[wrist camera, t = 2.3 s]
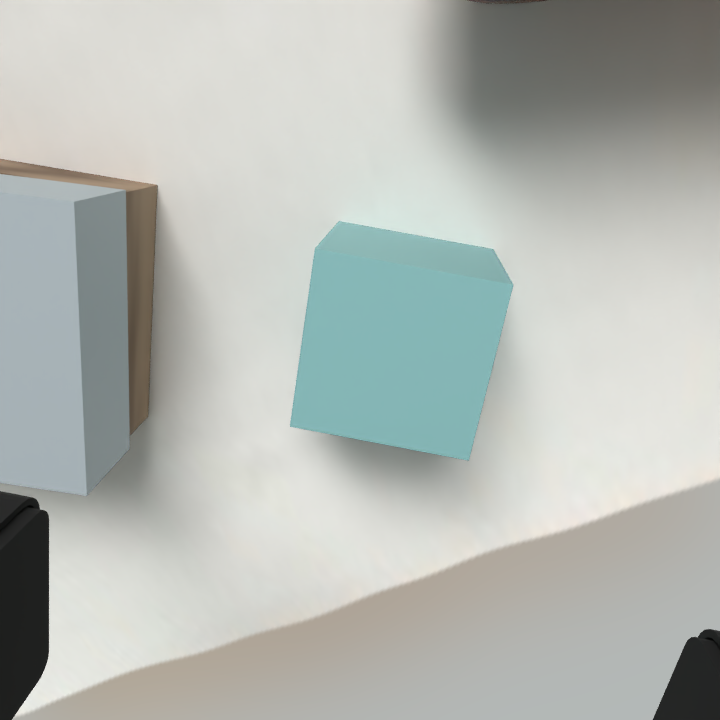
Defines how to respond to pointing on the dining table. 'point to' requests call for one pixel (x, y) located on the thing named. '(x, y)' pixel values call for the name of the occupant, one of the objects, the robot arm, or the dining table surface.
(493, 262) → the teal block
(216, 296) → the dining table surface
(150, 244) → the walnut tile
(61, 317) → the slate tile
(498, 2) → the tin
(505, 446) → the dining table surface
